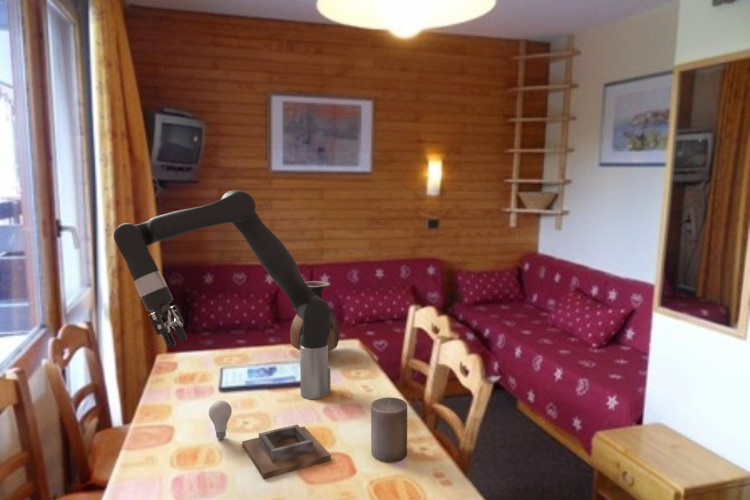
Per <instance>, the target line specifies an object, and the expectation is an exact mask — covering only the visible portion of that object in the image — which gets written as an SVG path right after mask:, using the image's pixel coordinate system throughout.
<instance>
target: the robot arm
mask: <svg viewBox="0 0 750 500" xmlns="http://www.w3.org/2000/svg"><path fill="white" fill-rule="evenodd" d="M229 223H231V224H232V225H234V226H235V228H236V229H237V230H238V232H240V233H241V235H242V236H243V237H244V239H245V240H246V243H247V245H249V247H250V249H251V251H252V252H253V254H254V255H255V257H256V259H257V260H258V261H259V263H260V264H261V265H262V267H263V268H264V270H265V271H266V273H267V274H268V275H269V276H270V278H271V279H272V280H273V281H274V282H275V284H276V285H277V286H278V287H279V288H281V290H282V291H283V292H284V293H285V295H286V296H287V298H288V299H289V301H290V302H291V304H292V306H293V308H294V309H295V311H296V314H297V313H298V315H299V317H300V318H301V319H302V320H303V335H302V336H301V337H300V350H299V355H300V356H299V363H300V364H299V366H300V369H299V370H300V372H299V373H300V374H299V375H300V379H299V381H300V396H301V397H302V398H304V399H308V400H318V399H323V398H326V397H327V396H329V395H331V394H332V393H331V387H332V386H331V385H332V384H331V376H332V375H331V374H332V373H331V371H332V370H331V366H329V351H328V339H329V336H330V322H331V313H330V307H331V306H330V305H329V304H328V302H327V301H326V300H325V299H323V298H322V299H321V298H319V297H318V296H317V295H316V294H315V293H314V292H313V291H312V290H311V289H310V288H309V287H308V285H307V284H306V283H305V282H306V281H305V280H304V279H303V276H302V274H301V272H300V270H299V269H300V268H299V267H298V265H297V263H296V261H295V259H294V257H293V256H292V254H291V253H290V251H289V250H288V249H287V247H286V246H285V244H284V243H283V242H282V241H281V240H280V238H278V236H276V234H274V232H273V231H272V230H270V228H268V226H267V225H266V224H265V223H263V221H262V219H261V218H260V216H259V215H258V213H257V212H256V202H255V200H254V197H252V196H251V195H250V194H249V193H248V192H246V191H244V190H243V191H242V190H240V189H239V190H238V189H233V190H229V191H226V192H225V193H224V194H223V195H222V197H221V199H219V200H217V201H215V202H212V203H209V204H205V205H201V206H197V207H191V208H190V207H189V208H186V209H179V210H176V211H175V210H174V211H171V212H168V213H164V214H160V215H157V216H154V217H151V218H150V219H149V220H147V221H144V222H141V223H139V224H133V223H130V222H126V223H125V222H124V223H122V224H121V223H120V224H119V225H117V227H116V228H115V229H114V232H113V239H114V243H115V244H116V246H117V248H118V250H119V252H120V253H121V256H122V257H123V259H124V261H125V263H126V265H127V269H128V271H129V274H130V276H131V278H132V279H133V282H134V284H135V289H136V290H137V293H138V295H139V297H140V299H141V301H142V303H143V305H144V307H145V310H146V311H147V312H152V311H153V312H152V313H150V314H148V317H149V319H150V322H151V324H152V327H153V329H154V331H155V333H156V335H157V336H161V337H162V338H163V340H164V341H165V344H166V346H167V348H172V347H174V346H176V345H177V343H176V340H175V338H174V336H173V333H172V332H171V328H172V329H173V330H174V332H175V335H176V337H177V339H178V341H179V342H180V343H182V342H184V341H186V340H188V336H187V334H186V332H185V330H184V324H185V321H184V318H183V317H182V315H181V313H180V311H179V309H178V307H177V305H176V304H174V305H172V306H171V305H170V303H172V302H173V301H174V298H173V295H172V293H171V290H170V289H169V286H168V285H167V282H166V281H165V278H164V276H163V275H162V274H161V272H160V270H159V267H158V265H157V263H156V262H155V260H154V258H153V256H152V255H151V253H150V250H149V248H148V246H151V245H153V244H155V243H157V242H160V241H166V240H168V239H173V238H175V237H179V236H183V235H185V234H188V233H191V232H195V231H197V230H201V229H204V228H208V227H212V226H216V225H221V224H229ZM170 327H171V328H170Z"/></svg>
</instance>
